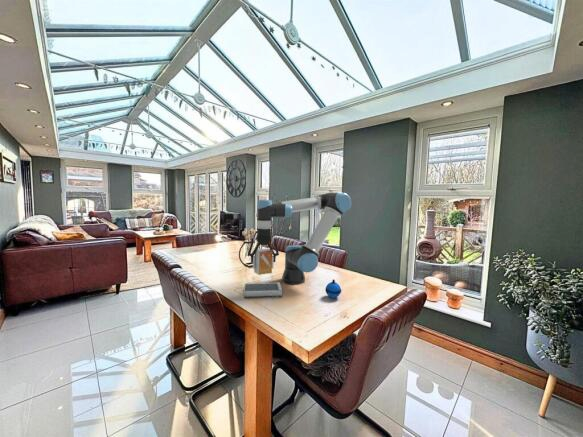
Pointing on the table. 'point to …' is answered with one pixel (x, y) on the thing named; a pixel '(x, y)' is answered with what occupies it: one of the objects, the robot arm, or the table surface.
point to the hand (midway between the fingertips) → (263, 267)
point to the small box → (263, 261)
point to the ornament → (333, 289)
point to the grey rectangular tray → (262, 290)
